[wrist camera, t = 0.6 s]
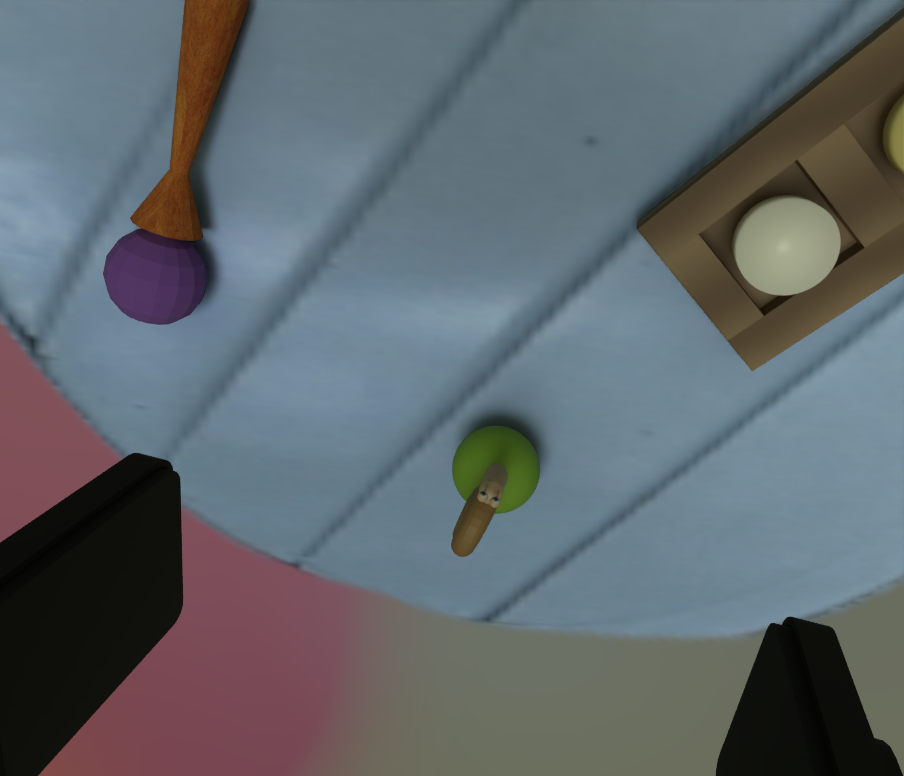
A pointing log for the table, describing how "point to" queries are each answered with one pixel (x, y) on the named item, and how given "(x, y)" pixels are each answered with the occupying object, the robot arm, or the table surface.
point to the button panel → (806, 175)
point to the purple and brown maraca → (176, 181)
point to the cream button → (786, 245)
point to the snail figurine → (491, 480)
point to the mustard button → (895, 135)
